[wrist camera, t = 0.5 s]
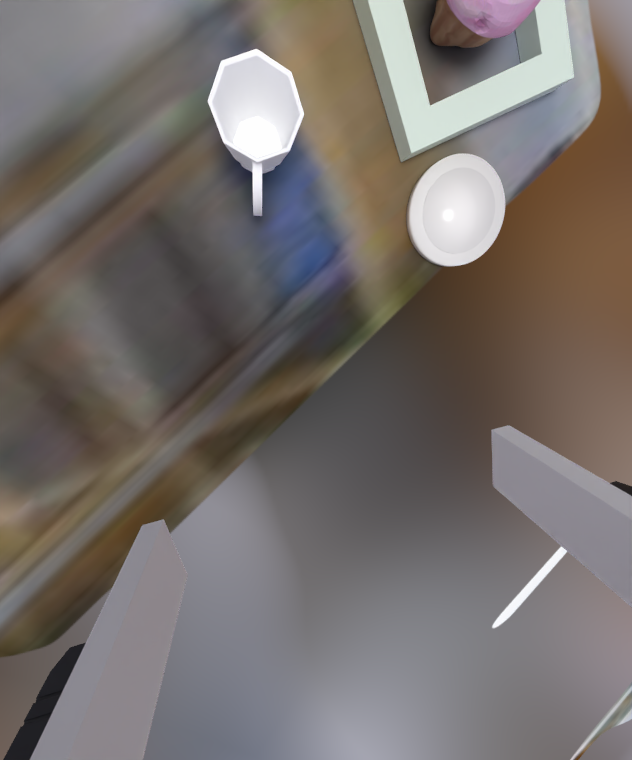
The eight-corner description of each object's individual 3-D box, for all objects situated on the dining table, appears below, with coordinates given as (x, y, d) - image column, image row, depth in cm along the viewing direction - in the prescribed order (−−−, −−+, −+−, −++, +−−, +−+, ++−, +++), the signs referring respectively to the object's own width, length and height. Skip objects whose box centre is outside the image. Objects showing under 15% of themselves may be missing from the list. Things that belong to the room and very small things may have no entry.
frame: (334, -61, 28) (341, -93, 26) (518, -143, 28) (541, -182, 26) (400, 162, 34) (411, 153, 32) (552, 91, 34) (574, 77, 32)
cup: (294, 112, 31) (305, 56, 24) (292, 225, 34) (301, 208, 26) (219, 101, 30) (205, 39, 22) (222, 220, 33) (211, 200, 25)
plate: (392, 183, 34) (397, 179, 33) (484, 140, 35) (493, 134, 33) (423, 282, 38) (429, 282, 37) (506, 242, 38) (515, 241, 37)
